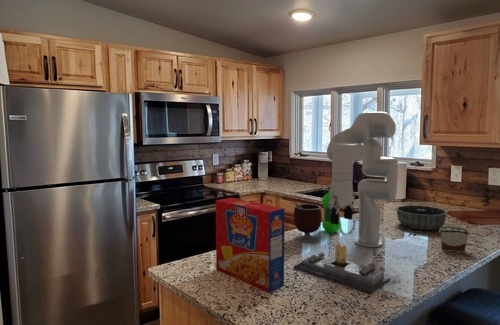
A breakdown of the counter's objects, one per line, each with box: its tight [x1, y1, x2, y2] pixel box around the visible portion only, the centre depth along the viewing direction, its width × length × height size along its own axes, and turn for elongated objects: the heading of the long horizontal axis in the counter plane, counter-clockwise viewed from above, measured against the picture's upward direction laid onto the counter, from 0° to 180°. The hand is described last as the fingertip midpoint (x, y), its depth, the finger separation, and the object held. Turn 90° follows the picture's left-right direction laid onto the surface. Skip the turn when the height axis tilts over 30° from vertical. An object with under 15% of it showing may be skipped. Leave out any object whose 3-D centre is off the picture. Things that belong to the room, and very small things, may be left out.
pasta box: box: [215, 197, 285, 294], centre depth 130 cm, size 28×8×28 cm, turn 45°
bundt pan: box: [395, 204, 448, 231], centre depth 200 cm, size 26×26×10 cm
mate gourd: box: [292, 201, 323, 245], centre depth 175 cm, size 16×14×20 cm
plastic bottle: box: [321, 185, 342, 234], centre depth 189 cm, size 10×10×25 cm
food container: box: [438, 225, 470, 253], centre depth 162 cm, size 12×6×10 cm, turn 74°
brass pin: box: [334, 243, 347, 268], centre depth 133 cm, size 4×4×10 cm
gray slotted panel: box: [293, 252, 391, 295], centre depth 134 cm, size 16×32×6 cm, turn 45°
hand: (341, 221), depth 132 cm, fingers open, 9 cm apart
